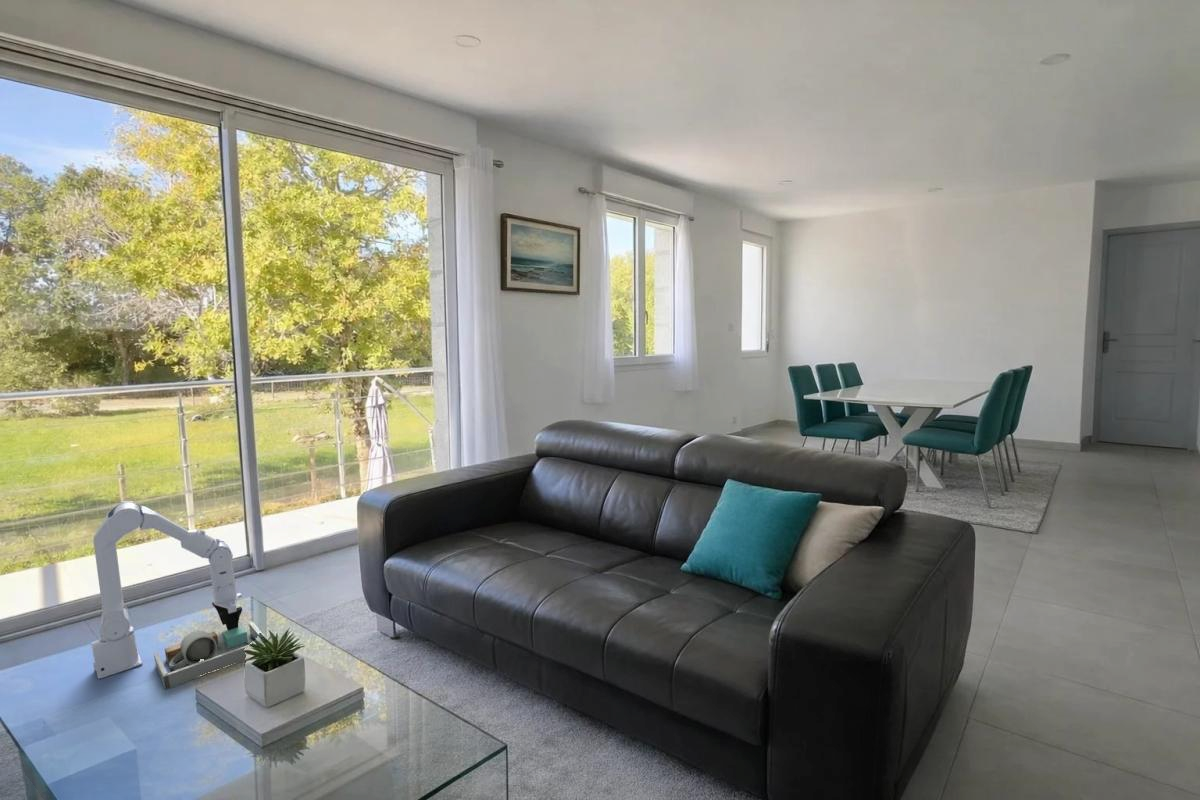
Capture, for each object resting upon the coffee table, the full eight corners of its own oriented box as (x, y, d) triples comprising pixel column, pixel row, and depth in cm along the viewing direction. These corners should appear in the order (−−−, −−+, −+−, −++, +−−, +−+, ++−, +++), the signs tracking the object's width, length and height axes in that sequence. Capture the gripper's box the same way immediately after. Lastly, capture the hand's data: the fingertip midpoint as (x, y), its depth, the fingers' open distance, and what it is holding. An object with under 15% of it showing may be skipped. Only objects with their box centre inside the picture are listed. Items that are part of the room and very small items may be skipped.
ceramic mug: (211, 648, 180) (206, 622, 179) (219, 658, 174) (215, 632, 173) (166, 665, 173) (161, 638, 171) (174, 676, 167) (168, 649, 166)
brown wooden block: (169, 664, 173) (167, 652, 172) (166, 660, 175) (164, 648, 175) (218, 646, 181) (217, 634, 181) (215, 642, 183) (214, 631, 183)
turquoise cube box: (228, 648, 179) (226, 638, 179) (223, 642, 183) (222, 632, 182) (248, 641, 183) (246, 631, 182) (243, 635, 186) (241, 625, 186)
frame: (165, 689, 161) (163, 676, 160) (155, 666, 172) (153, 654, 171) (269, 651, 177) (267, 639, 176) (254, 632, 188) (252, 621, 187)
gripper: (245, 586, 183) (251, 631, 185) (232, 572, 194) (238, 614, 196) (217, 595, 178) (224, 640, 180) (206, 580, 189) (212, 623, 191)
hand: (230, 627), depth 188 cm, fingers open, 7 cm apart
